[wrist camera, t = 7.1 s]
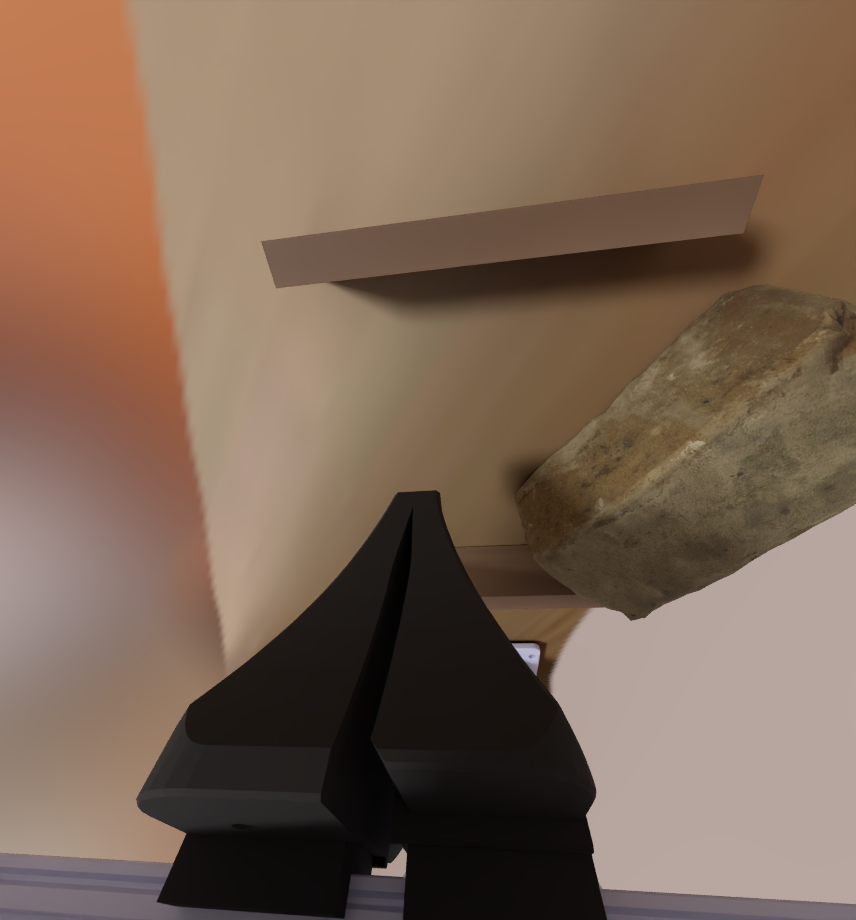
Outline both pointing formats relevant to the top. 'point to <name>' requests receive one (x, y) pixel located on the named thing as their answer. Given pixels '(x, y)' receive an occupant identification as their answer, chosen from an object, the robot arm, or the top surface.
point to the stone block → (705, 455)
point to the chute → (504, 239)
